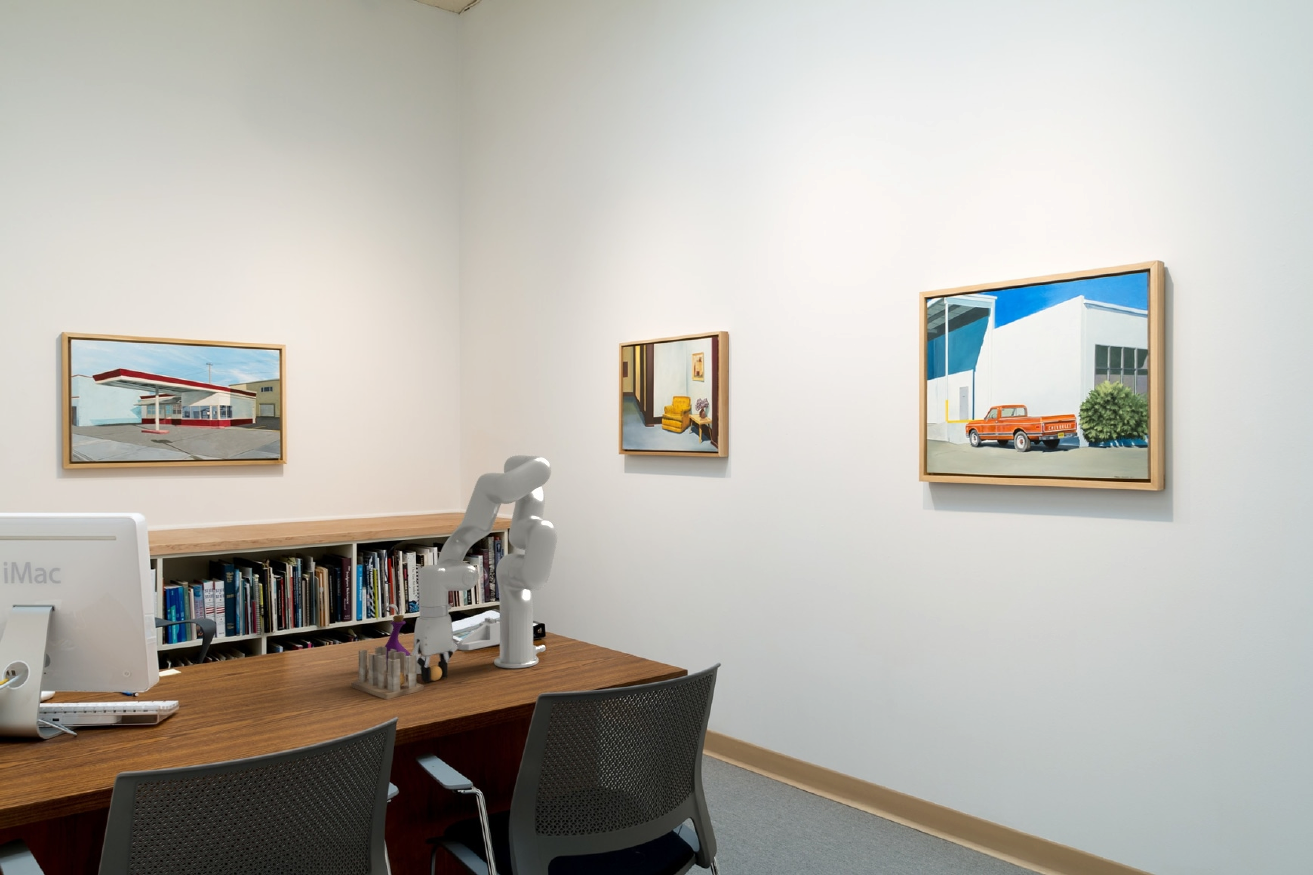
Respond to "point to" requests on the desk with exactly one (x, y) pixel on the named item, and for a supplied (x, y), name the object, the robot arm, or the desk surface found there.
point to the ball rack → (378, 676)
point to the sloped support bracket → (482, 635)
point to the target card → (418, 667)
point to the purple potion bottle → (395, 634)
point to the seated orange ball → (402, 678)
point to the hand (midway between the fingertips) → (434, 678)
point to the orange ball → (435, 672)
